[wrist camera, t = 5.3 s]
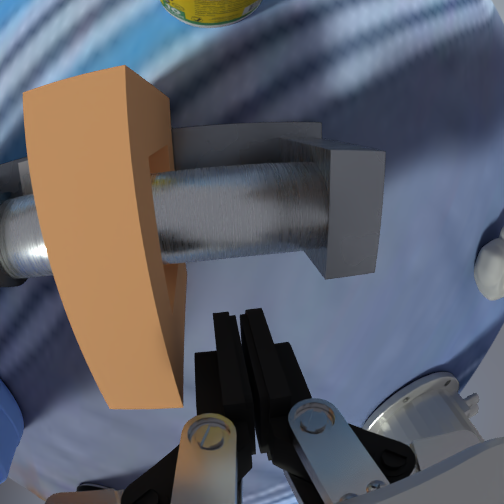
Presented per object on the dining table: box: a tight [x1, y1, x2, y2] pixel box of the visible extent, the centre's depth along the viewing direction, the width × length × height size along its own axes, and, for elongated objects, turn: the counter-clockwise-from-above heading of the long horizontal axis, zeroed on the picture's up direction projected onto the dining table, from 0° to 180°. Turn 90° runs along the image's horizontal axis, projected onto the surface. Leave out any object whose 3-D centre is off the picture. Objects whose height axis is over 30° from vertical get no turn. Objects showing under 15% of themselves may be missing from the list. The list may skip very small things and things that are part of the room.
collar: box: [23, 65, 187, 409], centre depth 10 cm, size 2×9×9 cm, turn 2°
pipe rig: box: [0, 122, 386, 288], centre depth 12 cm, size 21×6×7 cm, turn 92°
